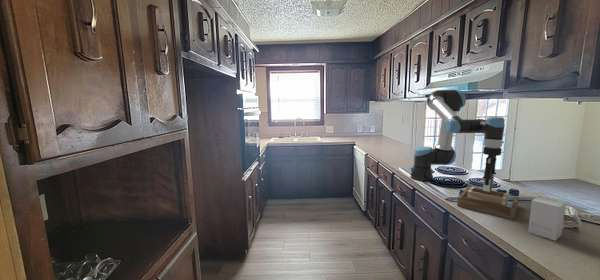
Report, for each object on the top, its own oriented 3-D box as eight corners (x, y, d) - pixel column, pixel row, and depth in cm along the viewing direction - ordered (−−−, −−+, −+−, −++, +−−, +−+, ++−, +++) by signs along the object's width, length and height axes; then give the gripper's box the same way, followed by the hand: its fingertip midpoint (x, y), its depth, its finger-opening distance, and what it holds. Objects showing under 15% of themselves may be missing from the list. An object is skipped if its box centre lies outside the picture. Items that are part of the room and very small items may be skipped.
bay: (466, 195, 156) (467, 186, 156) (517, 205, 140) (518, 196, 139) (457, 205, 141) (458, 196, 140) (513, 219, 124) (514, 208, 123)
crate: (470, 198, 146) (473, 169, 143) (506, 206, 135) (510, 175, 132) (466, 203, 139) (469, 173, 136) (503, 212, 128) (507, 179, 125)
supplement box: (562, 235, 110) (567, 202, 107) (555, 241, 105) (560, 207, 103) (534, 226, 117) (539, 195, 115) (527, 232, 112) (531, 199, 110)
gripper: (498, 151, 121) (493, 195, 125) (504, 144, 137) (499, 184, 141) (479, 149, 126) (475, 192, 130) (487, 143, 143) (483, 181, 146)
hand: (488, 188), depth 135 cm, fingers open, 10 cm apart
